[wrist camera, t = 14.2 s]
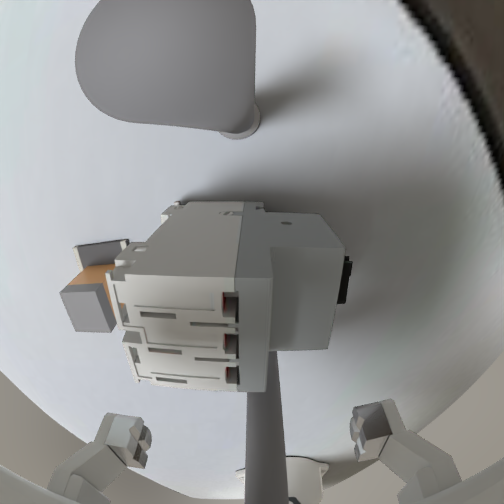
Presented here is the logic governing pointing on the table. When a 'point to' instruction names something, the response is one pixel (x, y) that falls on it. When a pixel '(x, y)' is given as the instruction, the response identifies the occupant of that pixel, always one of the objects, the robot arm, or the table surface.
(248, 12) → the cord posts
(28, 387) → the table surface
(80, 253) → the mat
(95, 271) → the orange and grey block
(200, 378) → the circuit breaker
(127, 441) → the robot arm
